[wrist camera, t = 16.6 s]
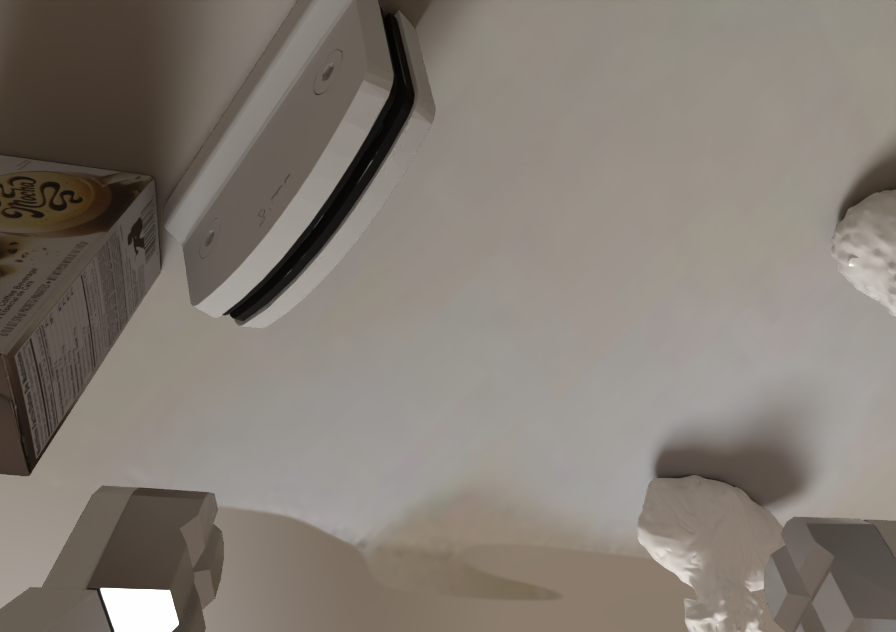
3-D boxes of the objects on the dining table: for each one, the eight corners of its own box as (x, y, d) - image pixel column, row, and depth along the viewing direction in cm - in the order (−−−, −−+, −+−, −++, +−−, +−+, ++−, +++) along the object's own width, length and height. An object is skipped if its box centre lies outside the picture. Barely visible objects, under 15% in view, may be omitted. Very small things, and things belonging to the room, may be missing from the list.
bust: (616, 463, 53) (592, 624, 50) (675, 454, 46) (652, 640, 43) (754, 504, 56) (741, 660, 52) (829, 500, 49) (821, 681, 45)
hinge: (330, -50, 32) (371, 53, 26) (410, 9, 35) (466, 116, 29) (160, 211, 40) (157, 344, 33) (238, 243, 43) (250, 371, 36)
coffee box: (2, 254, 41) (-214, 458, 28) (-21, 147, 38) (-282, 322, 24) (165, 276, 42) (30, 485, 29) (157, 173, 38) (0, 357, 25)
